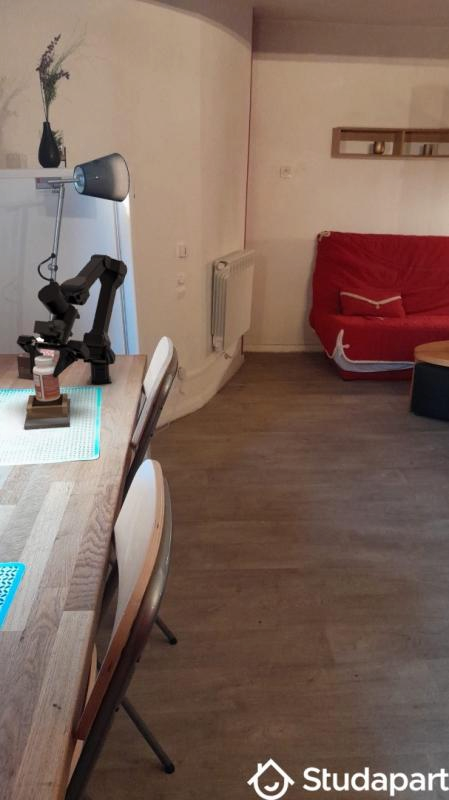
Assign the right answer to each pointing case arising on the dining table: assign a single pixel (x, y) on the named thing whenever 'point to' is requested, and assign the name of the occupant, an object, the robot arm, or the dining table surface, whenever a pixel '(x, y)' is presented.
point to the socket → (47, 413)
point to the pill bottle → (45, 379)
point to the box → (24, 366)
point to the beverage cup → (44, 351)
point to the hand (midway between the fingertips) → (42, 375)
